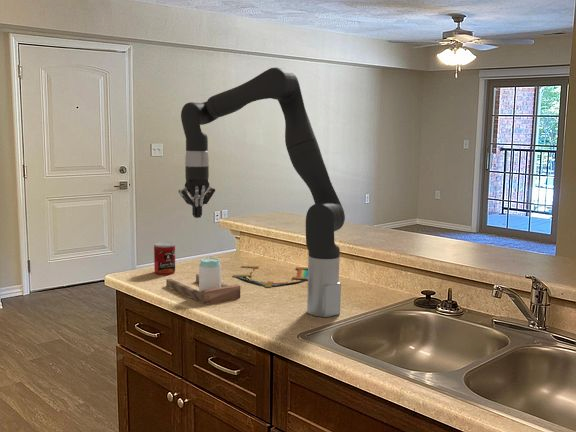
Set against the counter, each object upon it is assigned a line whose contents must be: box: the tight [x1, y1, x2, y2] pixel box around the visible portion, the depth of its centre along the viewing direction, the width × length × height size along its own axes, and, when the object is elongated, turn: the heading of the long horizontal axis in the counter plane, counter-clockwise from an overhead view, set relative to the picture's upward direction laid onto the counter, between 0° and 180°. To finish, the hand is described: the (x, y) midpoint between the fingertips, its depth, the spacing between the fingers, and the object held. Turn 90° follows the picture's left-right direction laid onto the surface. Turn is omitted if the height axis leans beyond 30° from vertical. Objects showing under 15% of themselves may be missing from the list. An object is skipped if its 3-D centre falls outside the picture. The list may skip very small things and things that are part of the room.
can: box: [198, 257, 222, 292], centre depth 199 cm, size 7×7×12 cm
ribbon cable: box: [232, 265, 308, 289], centre depth 226 cm, size 29×1×30 cm
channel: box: [165, 273, 241, 305], centre depth 204 cm, size 26×13×4 cm, turn 38°
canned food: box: [153, 241, 176, 276], centre depth 229 cm, size 8×8×11 cm
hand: (197, 217), depth 203 cm, fingers closed
